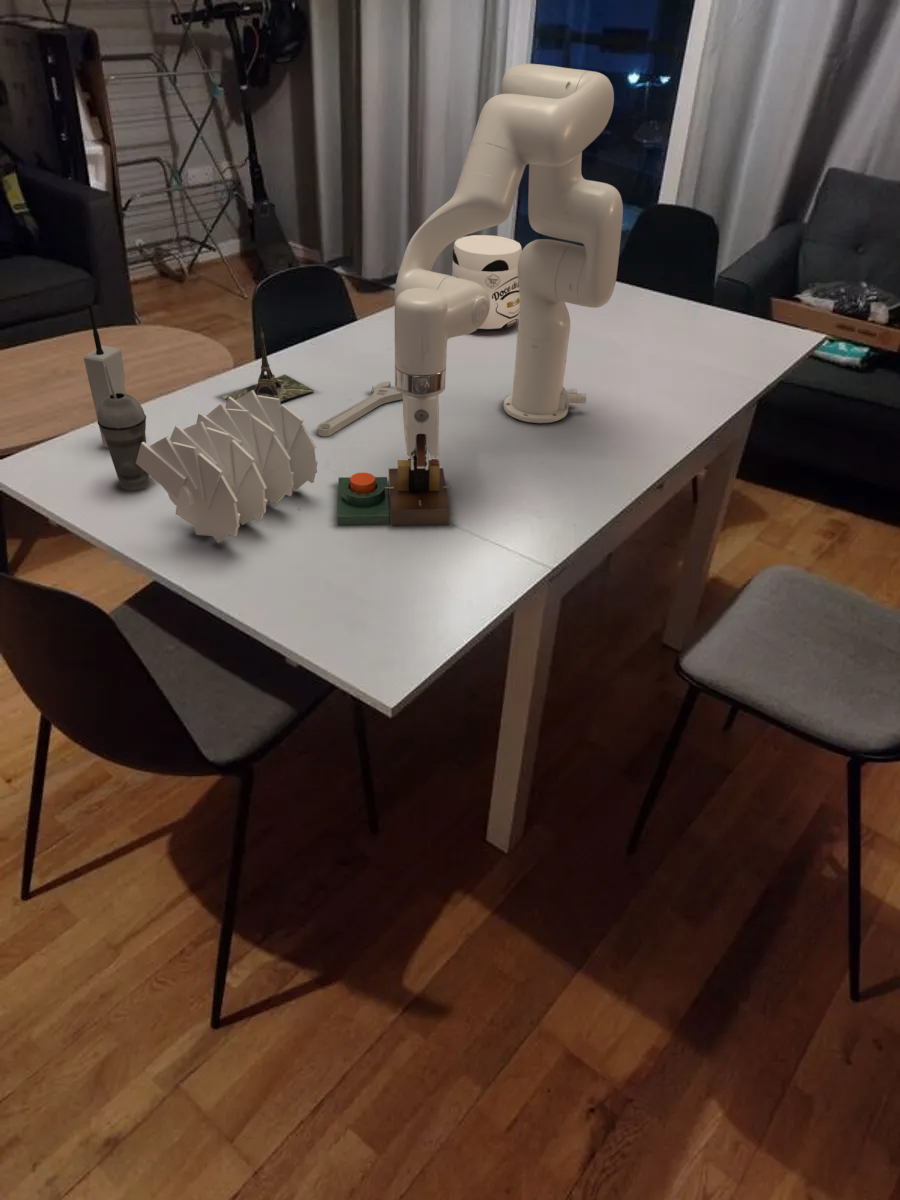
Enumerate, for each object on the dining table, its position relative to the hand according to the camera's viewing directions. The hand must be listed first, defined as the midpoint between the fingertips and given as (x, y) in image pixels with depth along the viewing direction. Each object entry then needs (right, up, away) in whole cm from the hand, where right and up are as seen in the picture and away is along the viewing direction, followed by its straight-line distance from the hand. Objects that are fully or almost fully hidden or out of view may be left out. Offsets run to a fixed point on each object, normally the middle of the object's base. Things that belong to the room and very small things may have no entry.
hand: (418, 485), depth 141 cm
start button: (-9, 0, -1) cm, 9 cm away
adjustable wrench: (-12, +18, +29) cm, 36 cm away
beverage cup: (-47, +1, +4) cm, 47 cm away
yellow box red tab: (0, 0, 0) cm, 0 cm away
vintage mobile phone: (-53, +9, +15) cm, 55 cm away
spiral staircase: (-28, -4, -1) cm, 28 cm away
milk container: (+13, +47, +67) cm, 83 cm away
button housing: (-9, -3, +1) cm, 9 cm away
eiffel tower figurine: (-31, +22, +32) cm, 50 cm away
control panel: (0, -3, +2) cm, 4 cm away
